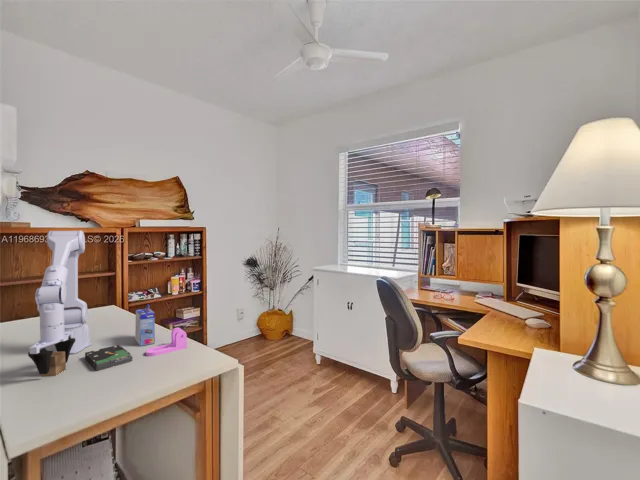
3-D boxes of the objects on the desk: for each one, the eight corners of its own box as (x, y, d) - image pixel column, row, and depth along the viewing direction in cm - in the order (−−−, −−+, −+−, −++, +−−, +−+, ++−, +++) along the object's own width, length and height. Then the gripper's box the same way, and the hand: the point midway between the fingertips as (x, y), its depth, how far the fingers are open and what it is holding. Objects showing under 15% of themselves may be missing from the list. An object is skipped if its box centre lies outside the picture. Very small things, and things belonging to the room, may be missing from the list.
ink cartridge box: (156, 343, 122) (155, 306, 121) (139, 347, 118) (138, 308, 118) (150, 336, 129) (149, 302, 129) (135, 339, 126) (134, 304, 125)
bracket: (181, 344, 121) (181, 326, 121) (186, 348, 117) (186, 330, 116) (144, 353, 112) (143, 334, 112) (148, 358, 108) (147, 338, 108)
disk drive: (84, 360, 107) (96, 373, 98) (84, 352, 107) (96, 364, 98) (118, 351, 115) (133, 362, 105) (118, 344, 115) (133, 354, 105)
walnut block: (52, 370, 99) (51, 351, 98) (65, 370, 99) (65, 351, 99) (41, 376, 95) (41, 356, 94) (55, 376, 95) (55, 356, 95)
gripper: (47, 331, 89) (48, 378, 90) (82, 317, 104) (83, 357, 104) (21, 332, 89) (22, 379, 89) (59, 317, 103) (61, 358, 104)
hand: (53, 367), depth 97 cm, fingers open, 7 cm apart
